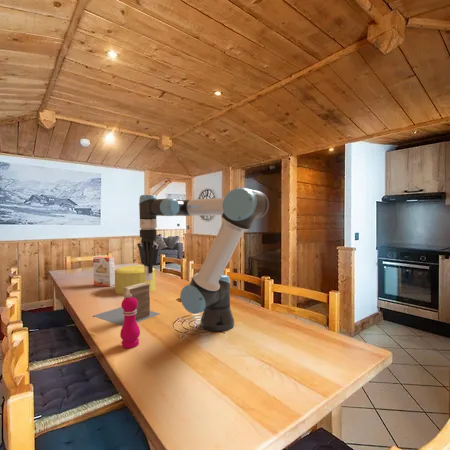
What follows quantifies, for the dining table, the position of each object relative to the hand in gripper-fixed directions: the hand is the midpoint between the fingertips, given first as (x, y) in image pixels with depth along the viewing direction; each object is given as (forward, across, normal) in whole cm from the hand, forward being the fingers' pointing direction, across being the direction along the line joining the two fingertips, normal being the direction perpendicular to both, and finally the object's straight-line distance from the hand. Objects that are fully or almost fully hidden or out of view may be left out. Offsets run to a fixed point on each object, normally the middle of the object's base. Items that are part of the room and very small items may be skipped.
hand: (148, 279), depth 132 cm
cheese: (+21, -58, +36) cm, 71 cm away
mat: (+20, -18, 0) cm, 27 cm away
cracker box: (+21, -86, +31) cm, 94 cm away
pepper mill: (+20, +12, -19) cm, 30 cm away
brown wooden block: (+20, -8, 0) cm, 22 cm away
